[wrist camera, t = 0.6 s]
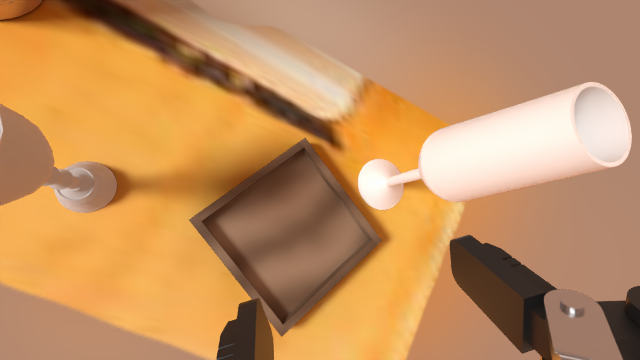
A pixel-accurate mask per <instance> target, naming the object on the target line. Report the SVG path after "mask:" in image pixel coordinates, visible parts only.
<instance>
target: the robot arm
mask: <svg viewBox="0 0 640 360" xmlns="http://www.w3.org/2000/svg"><path fill="white" fill-rule="evenodd" d="M41 2H42V0H0V20H2V19H11V18H15V17H18V16H22V15H24V14H26V13H28V12H30V11H32V10H33V9H34V8H36V7H37V6H38V5H39V4H40V3H41ZM450 255H451V268H452V273H453V276H454V278H455V281H456V282H457V284H458V285H459V286H460V287H461V288H462V290H463V291H464V292H465V293H466V294H467V295H468V296H469V297H470V298H471V299H472V300H473V301H474V302H475V304H477V306H478V307H479V308H480V309H481V310H482V311H483V312H484V313H485V314H486V315H487V316H488V317H489V319H491V321H492V322H493V323H494V324H495V325H496V326H497V327H498V328H499V329H500V330H501V331H502V332H503V333H504V335H505V336H506V337H507V338H508V339H509V340H510V341H511V342H512V343H513V344H514V345H515V346H516V347H517V349H518V350H519V351H520V352H521V353H526V352H528V351H531V350H534V349H535V350H536V351H537V352H538V353H539V354H540V360H640V286H637V287H633V288H631V289H629V291H628V293H627V298H626V301H601V302H596V301H594V300H593V299H591V298H590V297H588V296H586V295H584V294H581V293H578V292H575V291H572V290H563V289H561V290H560V289H556V288H555V287H553V286H552V285H551V284H549V283H548V282H546V281H545V280H544V279H542V278H541V277H540V276H538V275H537V274H535V273H534V272H533V271H531V270H530V269H528V268H527V267H526V266H524V265H521V263H520V262H519V261H517V260H516V259H515V258H512V257H511V256H510V255H509V254H508V253H506V252H505V251H504V250H502V249H501V248H498V247H496V246H493V245H491V244H488V243H484V244H482V243H480V242H479V241H478V240H476V239H475V238H473V237H472V236H471V235H466V236H463V237H459V238H456V239H453V240H451V241H450ZM218 348H219V350H218V353H217V360H274V346H273V336H272V331H271V328H270V325H269V322H268V319H267V317H266V314H265V311H264V309H263V306H262V303H261V301H260V299H259V298H256V299H253V300H250V301H247V302H243V303H240V304H239V307H238V316H237V319H235V320H232V321H229V322H228V323H227V325H226V326H225V328H224V330H223V332H222V333H221V336H220V342H219V347H218Z"/></svg>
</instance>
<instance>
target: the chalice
mask: <svg viewBox="0 0 640 360" xmlns="http://www.w3.org/2000/svg"><path fill="white" fill-rule="evenodd" d="M53 166H54V158H53V153H52V149H51V147H50V145H49V143H48V141H47V139H46V138H45V136H44V135H43V134H42V132H41V131H40V129H39V128H38V127H37V126H36V125H35V124H33V123H32V122H30V121H29V120H28V119H26V118H25V117H24V116H22V115H20V114H18V113H16V112H14V111H13V110H11V109H9V108H7V107H5V106H3V105H2V104H0V206H1V205H3V204H6V203H9V202H12V201H14V200H17V199H20V198H22V197H24V196H27V195H29V194H32V193H33V192H35V191H36V190H37V189H39V188H40V187H41V186H50V187H51V188H53V189H54V192H55V194H56V197H57V199H58V200H59V202H60V204H62V205H63V206H64V207H66V208H67V209H69V210H72V211H75V212H81V213H88V212H93V211H97V210H99V209H101V208H103V207H105V206H106V205H107V204H108V203H109V202H110V201H112V199H113V197H114V195H115V194H116V189H117V182H116V177H115V176H114V174H113V173H112V171H111V170H110V169H108V168H107V167H106V166H105V165H102V164H99V163H97V162H89V161H86V162H79V163H76V164H73V165H71V166H69V167H67V168H65V169H57V168H56V167H53Z"/></svg>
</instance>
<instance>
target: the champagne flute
mask: <svg viewBox="0 0 640 360" xmlns="http://www.w3.org/2000/svg"><path fill="white" fill-rule="evenodd" d="M631 137H632V134H631V127H630V122H629V119H628V116H627V113H626V111H625V109H624V107H623V105H622V103H621V102H620V101H619V99H618V98H617V97H616V95H615V94H614V93H613V92H612V91H611V90H609V89H608V88H607V87H605V86H603V85H602V84H599V83H596V82H588V83H584V84H581V85H578V86H575V87H571V88H568V89H565V90H562V91H559V92H556V93H552V94H549V95H546V96H543V97H540V98H537V99H533V100H530V101H527V102H524V103H521V104H518V105H514V106H512V107H508V108H505V109H502V110H499V111H495V112H492V113H489V114H486V115H483V116H480V117H476V118H474V119H470V120H467V121H464V122H461V123H457V124H454V125H451V126H448V127H445V128H442V129H439V130H437V131H435V132H434V133H433V134H431V135H430V136H429V137H428V138H427V140H426V141H425V142H424V144H423V146H422V149H421V151H420V155H419V164H418V167H419V168H417V169H414V170H411V171H408V172H404V173H400V171H399V170H398V169H397V167H396V166H395V165H394V164H392V163H391V162H389V161H387V160H383V159H375V160H371V161H370V162H368V163H367V164H365V165H364V167H363V168H362V169H361V171H360V173H359V177H358V188H359V192H360V194H361V196H362V198H363V199H364V201H365V202H366V203H367V204H368V205H370V206H371V207H373V208H376V209H379V210H386V209H390V208H392V207H394V206H395V205H396V204H397V203H398V202H399V201H400V199H401V197H402V195H403V190H404V183H407V182H411V181H415V180H419V179H422V180H423V182H424V183H425V185H426V186H427V187H428V189H430V190H431V191H432V192H433V193H434V194H436V195H437V196H439V197H440V198H442V199H445V200H447V201H452V202H464V201H468V200H473V199H477V198H481V197H485V196H490V195H494V194H498V193H503V192H507V191H511V190H516V189H520V188H524V187H529V186H533V185H537V184H541V183H546V182H550V181H555V180H559V179H563V178H568V177H572V176H576V175H581V174H585V173H589V172H594V171H598V170H602V169H606V168H610V167H615V166H617V165H620V164H621V163H622V162H623V161H624V160H625V159H626V158H627V156H628V154H629V151H630V147H631Z"/></svg>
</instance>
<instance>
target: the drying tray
mask: <svg viewBox="0 0 640 360" xmlns="http://www.w3.org/2000/svg"><path fill="white" fill-rule="evenodd" d="M189 221H190V222H191V223H192V224H193V226H194V227H195V228H196V229H197V231H198V232H199V233H200V234H201V236H202V237H203V238H204V239H205V241H206V242H207V243H208V244H209V246H210V247H211V248H212V250H213V251H214V252H215V253H216V255H217V256H218V257H219V258H220V260H221V261H222V262H223V263H224V265H225V266H226V267H227V268H228V270H229V271H230V272H231V273H232V275H233V276H234V277H235V279H236V280H237V281H238V282H239V284H240V285H241V286H242V287H243V289H244V290H245V291H246V292H247V294H248V295H249V296H250V297H251V299H252V300H253V299H256V298H259V299H260V301H261V303H262V306H263V309H264V311H265V314H266V317H267V319H268V320H269V321H270V323H271V324H272V325H273V326H274V328H275V329H276V330H277V331H278V333H279V334H280V335H281V336H283V335H284V334H285V333H286V332H287V331H288V330H289V329H290V328H291V327H292V326H293V325H295V324H296V323H297V322H298V321H299V320H300V319H301V318H302V317H303V316H304V315H305V314H306V313H307V312H308V311H309V310H310V309H311V308H312V307H313V306H314V305H315V304H316V303H317V302H318V301H319V300H321V299H322V298H323V297H324V296H325V295H326V294H327V293H328V292H329V291H330V290H331V289H332V288H333V287H334V286H335V285H336V284H337V283H338V282H339V281H340V280H341V279H342V278H343V277H344V276H345V275H346V274H348V273H349V272H350V271H351V270H352V269H353V268H354V267H355V266H356V265H357V264H358V263H359V262H360V261H361V260H362V259H363V258H364V257H365V256H366V255H367V254H368V253H369V252H370V251H371V250H372V249H374V248H375V247H376V246H377V245H378V244H379V243H380V242H381V241H382V240H381V239H380V237H379V236H378V235H377V233H376V232H375V231H374V229H373V228H372V227H371V225H370V224H369V223H368V221H367V220H366V219H365V217H364V216H363V215H362V213H361V212H360V211H359V209H358V208H357V207H356V205H355V204H354V203H353V201H352V200H351V199H350V197H349V196H348V195H347V193H346V192H345V190H344V189H343V188H342V186H341V185H340V184H339V182H338V181H337V180H336V178H335V177H334V176H333V174H332V173H331V172H330V170H329V169H328V168H327V166H326V165H325V164H324V162H323V161H322V160H321V158H320V157H319V156H318V154H317V153H316V152H315V150H314V149H313V148H312V146H311V145H310V144H309V142H308V141H307V140H306V138H304V139H303V140H301V141H300V142H298V143H297V144H296V145H294V146H293V147H291V148H290V149H288V150H287V151H286V152H284V153H283V154H281V155H280V156H279V157H277V158H276V159H274V160H273V161H272V162H270V163H269V164H267V165H266V166H264V167H263V168H262V169H260V170H259V171H257V172H256V173H255V174H253V175H252V176H250V177H249V178H247V179H246V180H245V181H243V182H242V183H240V184H239V185H238V186H236V187H235V188H233V189H232V190H230V191H229V192H228V193H226V194H225V195H223V196H222V197H221V198H219V199H218V200H216V201H215V202H214V203H212V204H211V205H209V206H208V207H206V208H205V209H204V210H202V211H201V212H199V213H198V214H197V215H195V216H194V217H192V218H191V219H189Z"/></svg>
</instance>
